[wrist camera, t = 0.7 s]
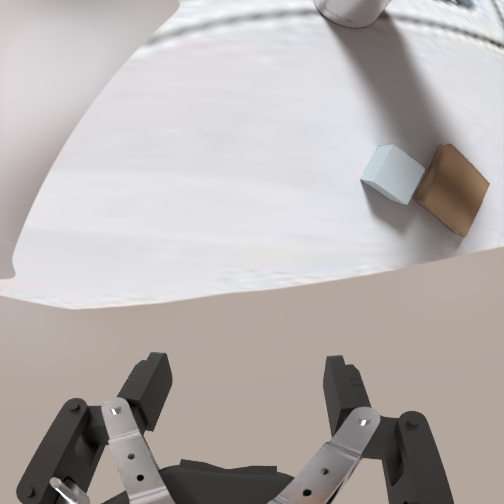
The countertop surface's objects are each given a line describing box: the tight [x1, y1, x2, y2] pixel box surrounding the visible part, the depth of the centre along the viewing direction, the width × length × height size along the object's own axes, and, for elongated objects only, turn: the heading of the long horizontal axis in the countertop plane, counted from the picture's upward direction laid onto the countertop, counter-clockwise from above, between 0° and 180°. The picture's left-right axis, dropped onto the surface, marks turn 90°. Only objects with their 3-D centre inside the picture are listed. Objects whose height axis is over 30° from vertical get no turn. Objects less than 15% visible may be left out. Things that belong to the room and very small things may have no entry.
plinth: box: [414, 144, 490, 237], centre depth 31 cm, size 9×9×3 cm
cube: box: [360, 144, 425, 205], centre depth 30 cm, size 5×5×5 cm
